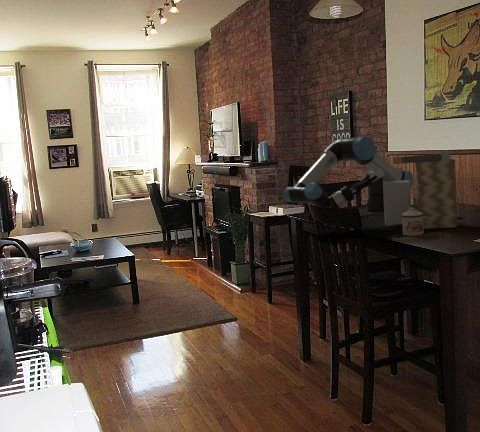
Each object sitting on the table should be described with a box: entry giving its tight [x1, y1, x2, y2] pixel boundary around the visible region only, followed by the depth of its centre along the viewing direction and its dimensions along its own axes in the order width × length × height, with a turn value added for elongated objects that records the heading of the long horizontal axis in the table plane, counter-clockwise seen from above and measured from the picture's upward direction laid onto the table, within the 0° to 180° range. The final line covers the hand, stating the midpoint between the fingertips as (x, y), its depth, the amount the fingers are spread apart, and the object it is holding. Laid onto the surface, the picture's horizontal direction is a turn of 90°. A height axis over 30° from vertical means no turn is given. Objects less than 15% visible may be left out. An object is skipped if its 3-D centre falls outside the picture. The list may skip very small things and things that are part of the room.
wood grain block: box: [414, 158, 458, 230], centre depth 237 cm, size 16×9×30 cm, turn 76°
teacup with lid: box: [401, 207, 431, 237], centre depth 226 cm, size 12×9×12 cm
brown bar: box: [392, 150, 451, 165], centre depth 236 cm, size 24×8×4 cm, turn 76°
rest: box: [383, 180, 412, 227], centre depth 254 cm, size 12×10×20 cm
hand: (382, 170), depth 241 cm, fingers open, 13 cm apart
